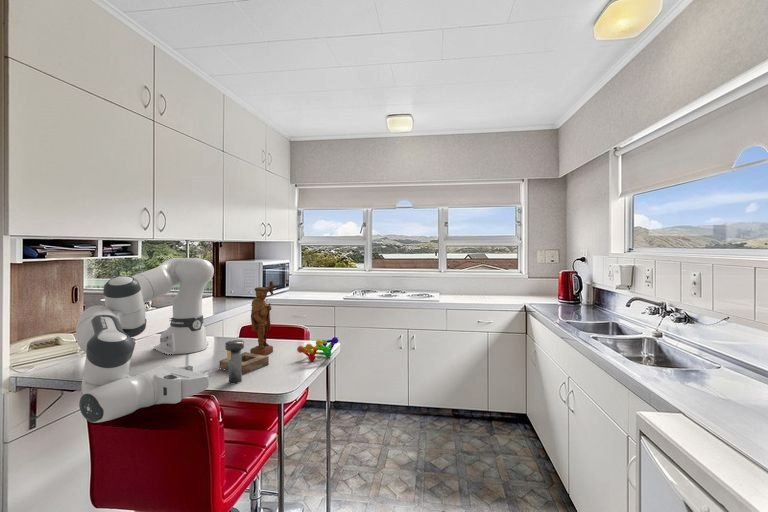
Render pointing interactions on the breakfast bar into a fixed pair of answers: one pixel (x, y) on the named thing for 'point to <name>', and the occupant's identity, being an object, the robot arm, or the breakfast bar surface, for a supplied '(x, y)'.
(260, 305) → the sculpture
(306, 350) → the decorative model
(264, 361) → the wooden stand
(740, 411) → the breakfast bar surface
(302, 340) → the breakfast bar surface
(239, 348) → the knob stem
